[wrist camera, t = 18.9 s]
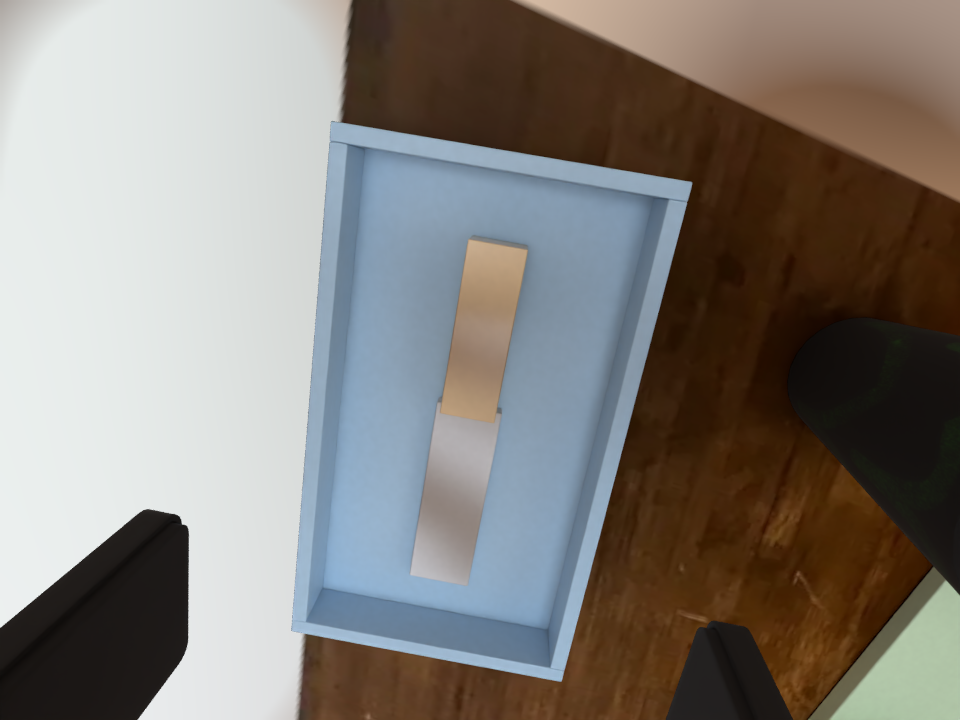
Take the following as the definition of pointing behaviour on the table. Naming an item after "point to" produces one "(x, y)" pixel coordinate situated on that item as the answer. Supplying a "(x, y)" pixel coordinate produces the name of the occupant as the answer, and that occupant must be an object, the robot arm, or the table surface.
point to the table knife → (468, 411)
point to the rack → (906, 663)
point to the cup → (891, 423)
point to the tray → (421, 377)
